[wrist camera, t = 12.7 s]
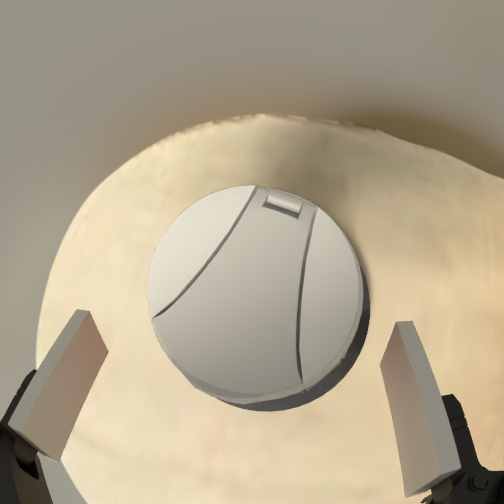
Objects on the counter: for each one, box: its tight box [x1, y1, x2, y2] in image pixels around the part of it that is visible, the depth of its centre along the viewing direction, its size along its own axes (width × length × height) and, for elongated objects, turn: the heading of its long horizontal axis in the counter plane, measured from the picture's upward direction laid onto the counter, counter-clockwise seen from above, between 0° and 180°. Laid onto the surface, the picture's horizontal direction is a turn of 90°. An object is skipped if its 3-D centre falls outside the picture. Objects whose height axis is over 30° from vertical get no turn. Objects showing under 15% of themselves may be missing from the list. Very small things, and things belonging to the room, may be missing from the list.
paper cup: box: [147, 185, 363, 404], centre depth 16 cm, size 8×8×14 cm
